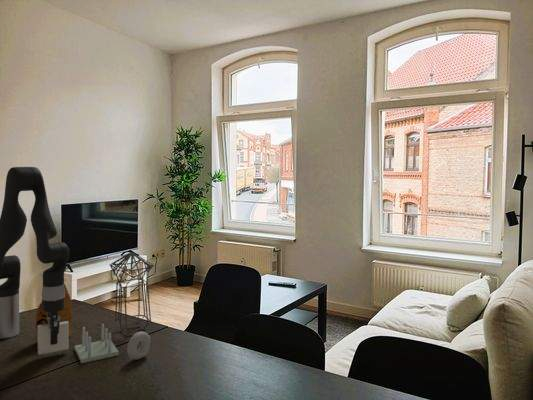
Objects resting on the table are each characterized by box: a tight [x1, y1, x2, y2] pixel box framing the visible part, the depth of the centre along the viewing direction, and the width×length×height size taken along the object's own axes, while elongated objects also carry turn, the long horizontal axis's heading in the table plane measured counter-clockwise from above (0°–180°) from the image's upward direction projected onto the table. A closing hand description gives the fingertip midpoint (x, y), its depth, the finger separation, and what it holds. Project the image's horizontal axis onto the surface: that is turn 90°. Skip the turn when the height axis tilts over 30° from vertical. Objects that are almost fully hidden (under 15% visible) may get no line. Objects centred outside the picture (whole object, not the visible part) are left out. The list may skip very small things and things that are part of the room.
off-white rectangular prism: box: [37, 321, 70, 356], centre depth 150 cm, size 2×10×10 cm, turn 124°
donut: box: [126, 330, 151, 361], centre depth 149 cm, size 10×4×10 cm, turn 150°
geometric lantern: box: [109, 252, 155, 337], centre depth 174 cm, size 16×16×35 cm
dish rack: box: [74, 323, 120, 364], centre depth 154 cm, size 14×13×8 cm
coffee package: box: [35, 283, 73, 344], centre depth 165 cm, size 10×12×22 cm
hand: (53, 342), depth 150 cm, fingers closed on off-white rectangular prism, 2 cm apart
